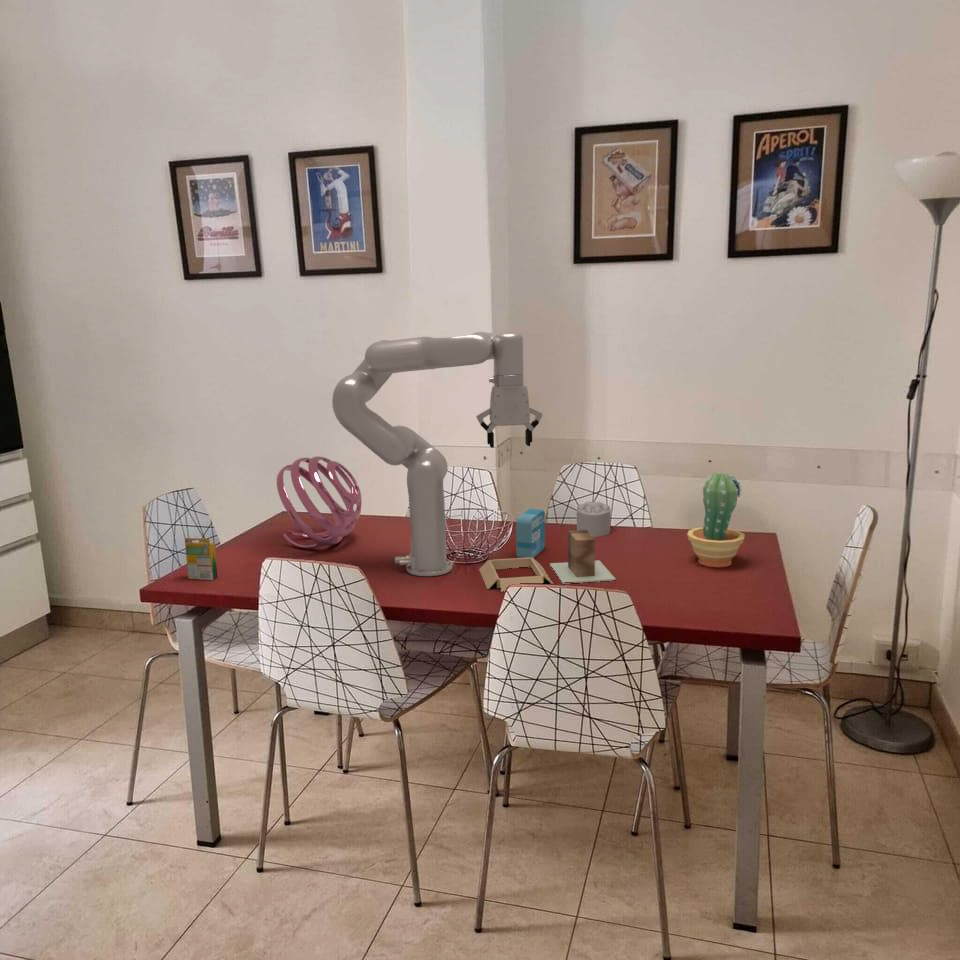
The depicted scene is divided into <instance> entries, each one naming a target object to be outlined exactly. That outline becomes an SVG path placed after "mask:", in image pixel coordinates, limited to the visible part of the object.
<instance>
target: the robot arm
mask: <svg viewBox="0 0 960 960" xmlns="http://www.w3.org/2000/svg"><path fill="white" fill-rule="evenodd" d="M488 360H489V361H490V360H493V363H494V364H493V368H494V370H493V371H494V372H493V375H492V376H490V377H489V376H488V382H489V383H492V384H493V385H494V386H492V387H491V392H490V401H489V407H488V409H485V410H484V411H482V412H481V413H479V414H477V415H476V419H477V421H478V423H479V425H480V426H481V427H482V428H483V430H485V431H486V437H487V440H486V441H487V442H486V443H487V445H489V447H490V448H491V449H492V448H495V435H494V432H493V431H494V430H495V428H496V427H505V426H506V427H507V426H523V425H524V426H525V427H526V429H525V430H524V432H525V433H524V435H525V437H524V438H525V440H524V441H525V445H526V446H528V447H530V446H531V443H533V431H534V429H535V428H536V427H538V425H539V423H540V421H541V419H542V417H543V413H542V412H540V411H538V410H536V409H535V408H532V407H530V400H529V399H530V398H529V391H528V387H527V385H524V339H523V335H522V334H521V333H519V332H499V333H492V332H485V331H484V332H483V331H477V332H473V333H471V334H469V335H468V334H467V335H460V336H450V337H448V336H447V337H432V336H431V337H430V336H417V337H410V338H401V339H393V340H388V339H383V340H382V339H381V340H379V341H375V342H373V343H372V344H370V345H369V346H368V347H367V348H366V350H365V353H364V359H363V360H362V361H361V362H360V364H359V365H358V366H357V367H356V369H355V370H354V371H353V372H352V373H351V374H348V375H347V376H344V377H343V378H341V379H340V380H339V382H337V384H336V386H335V387H334V390H333V393H332V399H331V400H332V402H331V404H332V405H331V406H332V410H333V413H334V415H335V419H336V420H337V421H338V423H339V424H340V425H341V427H343V429H345V430H346V431H347V432H348V433H350V434H351V435H352V436H353V437H355V438H356V439H357V440H358V441H360V443H361V444H363V445H364V446H365V447H366V448H367V449H369V450H370V451H371V452H373V453H374V454H375V456H378V457H379V459H381V460H382V461H383V462H385V463H386V464H388V465H391V466H401V465H402V466H404V467H405V468H406V469H407V473H406V486H407V487H406V488H407V494H408V505H409V506H408V507H409V510H408V511H409V525H410V526H409V527H410V529H409V530H410V549H411V551H409V554H406V555H404V556H400V555H399V556H394V563H395V564H399V566H405V565H406V566H405V567H406V569H405V571H406V572H407V573H408V574H410V575H413V576H418V577H435V576H442V575H445V574H448V573H450V572H451V571H452V570H453V563H452V562H451V561H449V560H447V537H446V536H447V533H446V532H447V531H446V511H445V510H446V509H445V494H444V493H445V492H444V479H445V477H446V475H447V473H448V470H449V469H448V468H449V467H448V462H447V460H446V457H445V456H444V455H443V454H442V453H441V451H439V450H438V449H437V448H435V447H434V446H433V445H432V444H430V443H429V442H428V441H427V439H425V438H424V437H422V435H419V434H418V433H417V432H416V431H414V430H413V429H411V428H409V427H408V426H405V425H395V426H393V425H391V424H390V423H389V422H387V421H386V420H385V419H384V418H383V417H382V416H380V414H378V413H377V412H375V411H373V410H372V409H370V408H369V407H368V406H367V404H366V403H368V402H369V401H370V400H372V399H373V397H375V395H377V393H378V392H379V390H380V389H381V388H382V387H383V386H384V385H385V384H386V382H387V381H388V380H389V379H390V377H391V376H392V375H393V374H397V373H406V372H415V371H427V370H436V369H437V370H438V369H443V368H456V367H457V368H458V367H464V366H465V367H466V366H473V365H474V366H475V365H481V364H483V363H484V362H486V361H488ZM531 414H532V415H533V416H535V417H534V419H533V420H532V421H531V422H530V420H531ZM488 416H489V421H490V422H489V423H488V424H487V423H486V422H485V421H484V418H486V417H488Z"/></svg>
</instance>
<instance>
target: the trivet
mask: <svg viewBox="0 0 960 960" xmlns="http://www.w3.org/2000/svg"><path fill="white" fill-rule="evenodd" d="M549 567H550V568H551V567H552V568H553V569H552V568H551V569H552V571H553V570H554V571H555V572H554V571H553V572H554V574H555V573H556V574H557V575H556V574H555V575H556V576H558V577H559V578H558V577H557V578H558V580H559V579H560V580H561V581H560V580H559V581H560V583H561V582H562V583H561V584H562V585H563V584H565V585H571V584H570V583H565V582H574V583H580V584H584V583H583V582H586V583H585V584H588V583H587V582H594V581H595V583H601V582H600V581H610V582H613V581H612V580H616V577H615V576H614V575H613V574H612V573H611V572H610V570H609V569H607V567H606V566H605V565H604V564H603V563H602V562H601V560H596V559H595V576H585V577H576V576H575V575H574V573H573V572H572V571H571V569H569V567H568V561H567V562H551V563H549ZM596 581H597V582H596Z"/></svg>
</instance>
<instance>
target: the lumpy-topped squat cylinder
mask: <svg viewBox="0 0 960 960" xmlns="http://www.w3.org/2000/svg"><path fill="white" fill-rule="evenodd" d="M611 515H612V514H611V507H610V505H609V504H606V503H603V502H602V501H585V502H584V503H579V504H578V505H577V508H576V530H588V531H589V533H590V534H591V535H592V537H593V538H598V537H604V536H606V535H609V534H610V533H611Z"/></svg>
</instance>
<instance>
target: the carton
mask: <svg viewBox="0 0 960 960" xmlns="http://www.w3.org/2000/svg"><path fill="white" fill-rule="evenodd" d="M529 566H531V567H529ZM519 567H528V568H532V569H533V571H534V572H535V574H536V575H537V576H536V575H535V574H534V576H519V577H518V576H517V577H515V576H514V577H503V578H502V577H501V578H500V577H499V575H498V573H497V571H496V570H507V568H508V570H509V568H512V569H520V568H519ZM532 569H531V570H532ZM478 570H479V572H480V575H481V578H482V580H483V582H484V585H485V587H486V589H487V590H488V589H489V590H490V589H491V588H492V586H494V584H495V583H496V584H495V587H496V588H497V589H498V588H501V589H500V593H506V592H505V590H506V588H507V587H508V586H509V585H512V584H520V583H544V584H545V580H546V581H548V583H550V584H551V585H552V584H554V582H553V581H552V579H551V578H550V576H549V575H548V573H547V571H546V570H545V569H544V567H543V565H542V566H541V563H540V562H538V561H537V560H536V559H535V557H534V558H533V557H532V558H530V557H527V558H520V557H513V558H498V559H497V558H495V559H489V560H488V559H487V560H486V562H485V563H484V564H483V565H482V566H481V567H480V568H479V569H478ZM533 571H532V572H533ZM534 572H533V573H534ZM546 573H547V574H546ZM548 576H549V577H548ZM550 579H551V580H550ZM503 591H504V592H503Z"/></svg>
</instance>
